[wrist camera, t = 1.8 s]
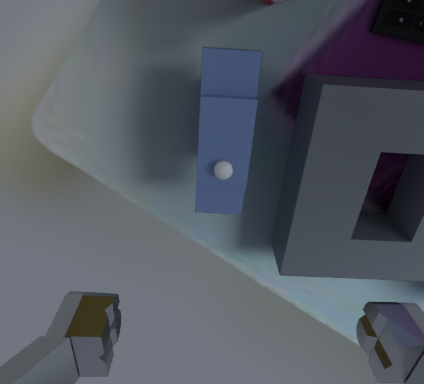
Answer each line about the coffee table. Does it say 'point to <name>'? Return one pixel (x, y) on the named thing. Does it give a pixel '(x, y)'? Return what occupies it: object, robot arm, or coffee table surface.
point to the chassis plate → (352, 181)
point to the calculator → (400, 19)
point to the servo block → (226, 127)
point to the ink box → (274, 1)
